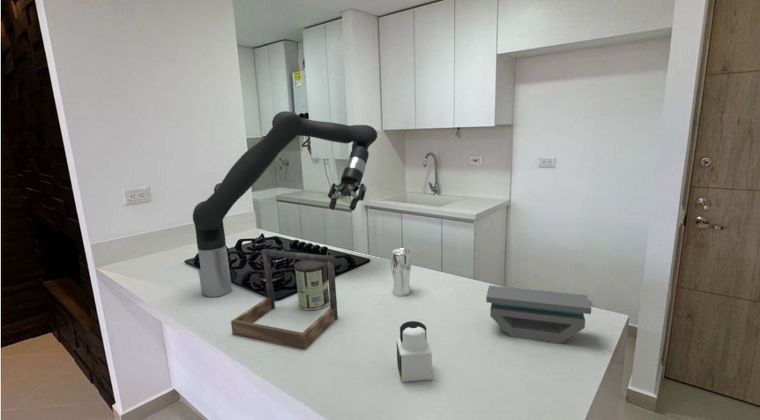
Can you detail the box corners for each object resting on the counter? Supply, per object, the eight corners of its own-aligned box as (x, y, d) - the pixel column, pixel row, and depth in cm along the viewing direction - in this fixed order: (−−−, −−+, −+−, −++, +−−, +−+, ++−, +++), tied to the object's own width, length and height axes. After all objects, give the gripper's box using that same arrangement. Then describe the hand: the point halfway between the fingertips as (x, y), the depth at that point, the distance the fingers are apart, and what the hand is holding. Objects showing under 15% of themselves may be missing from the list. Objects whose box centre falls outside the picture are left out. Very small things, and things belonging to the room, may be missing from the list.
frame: (271, 306, 129) (265, 248, 125) (339, 317, 119) (334, 255, 115) (231, 333, 113) (222, 268, 108) (306, 349, 103) (299, 278, 99)
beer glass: (412, 288, 138) (411, 247, 135) (411, 296, 132) (410, 254, 128) (392, 288, 139) (390, 247, 136) (390, 296, 132) (389, 254, 129)
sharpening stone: (583, 332, 106) (586, 295, 103) (588, 348, 99) (591, 308, 96) (488, 320, 114) (489, 285, 112) (485, 333, 107) (486, 296, 105)
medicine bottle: (397, 364, 95) (395, 319, 93) (426, 361, 96) (425, 316, 93) (401, 383, 88) (399, 334, 86) (432, 380, 89) (431, 332, 86)
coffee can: (316, 294, 137) (313, 255, 134) (335, 302, 130) (333, 262, 127) (291, 304, 130) (287, 264, 127) (310, 313, 123) (307, 271, 120)
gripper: (333, 166, 149) (320, 203, 142) (365, 165, 142) (353, 204, 136) (342, 177, 155) (330, 213, 148) (374, 177, 148) (362, 214, 141)
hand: (341, 209), depth 142 cm, fingers open, 8 cm apart
